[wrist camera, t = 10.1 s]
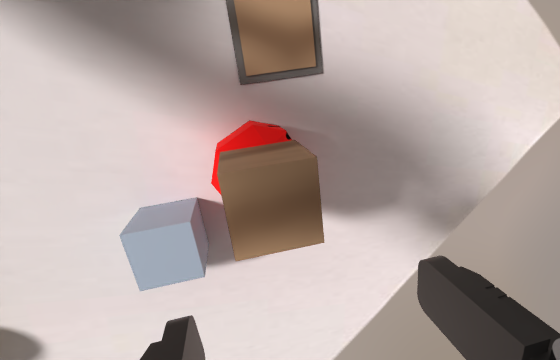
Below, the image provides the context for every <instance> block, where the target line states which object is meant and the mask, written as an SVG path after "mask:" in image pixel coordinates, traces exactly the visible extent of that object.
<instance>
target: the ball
mask: <svg viewBox="0 0 560 360" xmlns="http://www.w3.org/2000/svg"><path fill="white" fill-rule="evenodd" d="M291 140H292V139H291V138H290V137H289V135H288V134H287V132H286V130H284V129H283V128H281V127H280V126H277V125H272V124H266V123H261V122H255V121H248V122H247V123H245V124H244V125H243V126H241V127H240V128H238V129H237V130H236V131H234V132H233V133H231V134H230V135H229V136H227V137H226V138H224V139H223V140H221V141H220V142H219V143H217V147H216V152H215V160H214V167H213V175H212V182H211V184H212V185H213V186H214V187H215V188H216V190H217V191H218V192H219V193H220V194H221V190H220V186H219V181H218V176H217V171H218V163H219V156H220V152H224V151H230V150H236V149H242V148H248V147H254V146H260V145H267V144H273V143H279V142H285V141H291ZM221 196H222V195H221Z"/></svg>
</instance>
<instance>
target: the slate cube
mask: <svg viewBox="0 0 560 360" xmlns="http://www.w3.org/2000/svg"><path fill="white" fill-rule="evenodd" d="M119 236H120V238H121V241H122V244H123V247H124V249H125V252H126V255H127V257H128V260H129V263H130V265H131V268H132V271H133V273H134V276H135V279H136V282H137V284H138V287H139V290H140V291H143V290H148V289H152V288H157V287H161V286H166V285H170V284H175V283H179V282H184V281H188V280H193V279H197V278H202V277H205V272H206V263H207V255H208V247H209V243H208V239H207V235H206V232H205V228H204V224H203V220H202V216H201V212H200V208H199V204H198V200H197V198H191V199H186V200H180V201H175V202H170V203H164V204H159V205H154V206H148V207H143V208H139V210H138V211H137V213H136V214H135V215H134V217H133V218H132V219H131V221H130V222H129V223H128V225H127V226H126V227H125V229H124V230H123V231H122V233H121V234H120V235H119Z"/></svg>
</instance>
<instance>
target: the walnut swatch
mask: <svg viewBox="0 0 560 360" xmlns="http://www.w3.org/2000/svg"><path fill="white" fill-rule="evenodd" d="M226 4H227V10H228V16H229V21H230V27H231V33H232V38H233V44H234V50H235V56H236V61H237V67H238V73H239V79H240V84H248V83H255V82H262V81H269V80H276V79H283V78H290V77H297V76H304V75H311V74H318V73H322V62H321V49H320V37H319V25H318V12H317V0H226Z"/></svg>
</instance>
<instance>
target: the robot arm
mask: <svg viewBox="0 0 560 360" xmlns="http://www.w3.org/2000/svg"><path fill="white" fill-rule="evenodd" d="M417 294H418V300H419V303H420V305H421V307H422V309H423V311H424V312H425V313H426V314H427V316H428V317H429V318H430V319H431V320H432V321H433V322H434V324H435V325H436V326H437V327H438V328H439V329H440V330H441V332H442V333H443V334H444V335H445V336H446V337H447V338H448V339H449V340H450V341H451V343H452V344H453V345H454V346H455V347H456V349H457V350H458V351H459V352H460V353H461V354H462V355H463V357H464V358H465V359H466V360H560V334H559V333H558V332H557V331H555V330H554V329H553V328H551V327H550V326H549V325H547V324H546V323H545V322H543V321H542V320H540V319H539V318H538V317H536V316H535V315H534V314H532V313H531V312H530V311H528V310H527V309H526V308H524V307H523V306H521V305H520V304H519V303H517V302H516V301H515V300H513V299H512V298H511V297H507V295H506V294H505V293H504V292H502V291H501V290H500V289H499V288H495V287H494V285H493V284H492V283H490V282H489V281H488V280H486V279H485V278H483V277H482V276H481V275H479V274H477V273H475V272H473V271H471V270H468V269H466V268H464V267H458V266H456V265H455V264H454V263H452V262H451V261H450V260H449V259H447V258H446V257H444V256H437V257H432V258H428V259H424V260H421V261H420V262H419V265H418V291H417ZM140 360H205V353H204V349H203V345H202V342H201V339H200V336H199V333H198V330H197V326H196V323H195V320H194V318H193V316H192V315H191V316H187V317H182V318H178V319H174V320H170V321H168V322H167V323H166V326H165V330H164V334H163V337H162V341H159V342H155V343H151V344H150V346H149V347H148V349H147V350H146V352H145V353H144V354H143V356H142V357H141V359H140Z"/></svg>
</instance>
